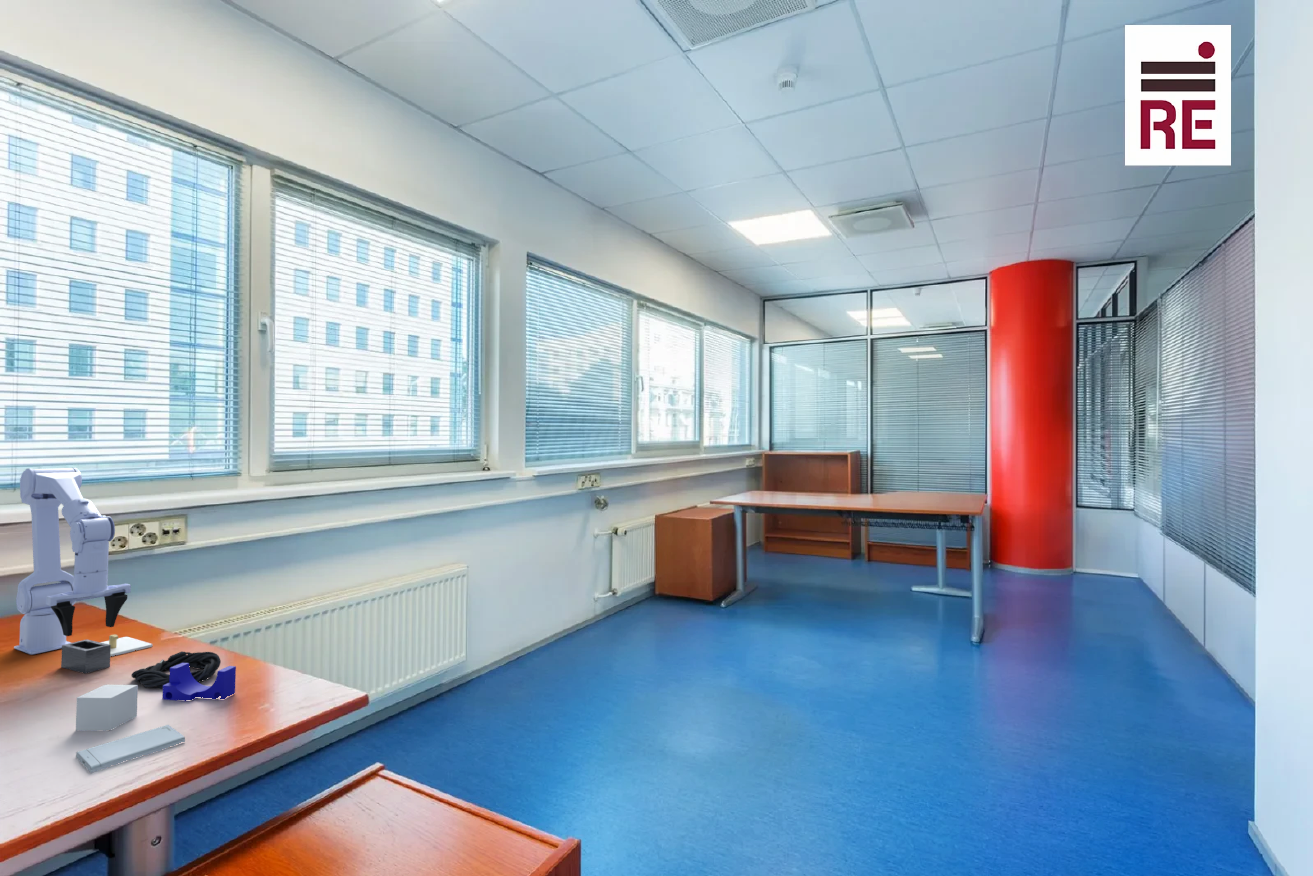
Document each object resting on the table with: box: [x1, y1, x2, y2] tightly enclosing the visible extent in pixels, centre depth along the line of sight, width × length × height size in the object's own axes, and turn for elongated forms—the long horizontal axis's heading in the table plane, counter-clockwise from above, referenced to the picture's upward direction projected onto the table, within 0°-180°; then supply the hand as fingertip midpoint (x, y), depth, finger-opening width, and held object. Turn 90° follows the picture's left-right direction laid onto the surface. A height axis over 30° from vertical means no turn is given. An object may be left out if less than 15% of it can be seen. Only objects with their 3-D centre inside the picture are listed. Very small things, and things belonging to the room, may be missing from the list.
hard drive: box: [75, 724, 186, 774], centre depth 105 cm, size 2×8×12 cm
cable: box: [131, 651, 221, 689], centre depth 136 cm, size 17×14×4 cm
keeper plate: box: [100, 634, 153, 658], centre depth 152 cm, size 12×12×4 cm
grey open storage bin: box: [60, 639, 111, 674], centre depth 140 cm, size 9×5×5 cm, turn 69°
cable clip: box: [161, 663, 237, 702], centre depth 126 cm, size 12×4×6 cm, turn 85°
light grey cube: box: [75, 684, 139, 732], centre depth 114 cm, size 6×6×6 cm
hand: (89, 630), depth 141 cm, fingers open, 7 cm apart
